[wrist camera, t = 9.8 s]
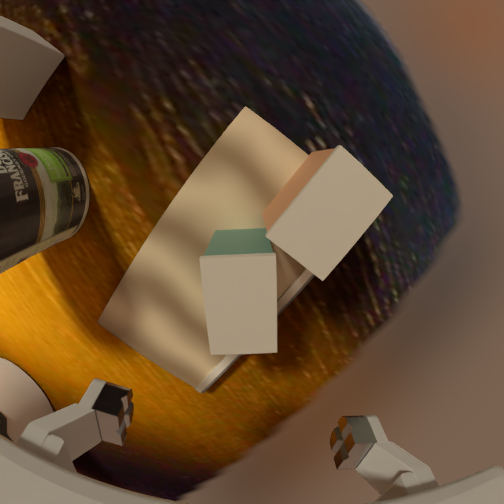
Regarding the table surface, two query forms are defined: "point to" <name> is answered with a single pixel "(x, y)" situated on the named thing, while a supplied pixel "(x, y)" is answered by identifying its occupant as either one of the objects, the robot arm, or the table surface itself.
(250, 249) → the green tin
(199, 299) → the shelf board
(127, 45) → the table surface
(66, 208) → the coffee can
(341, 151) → the rust tin
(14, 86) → the soap bottle
